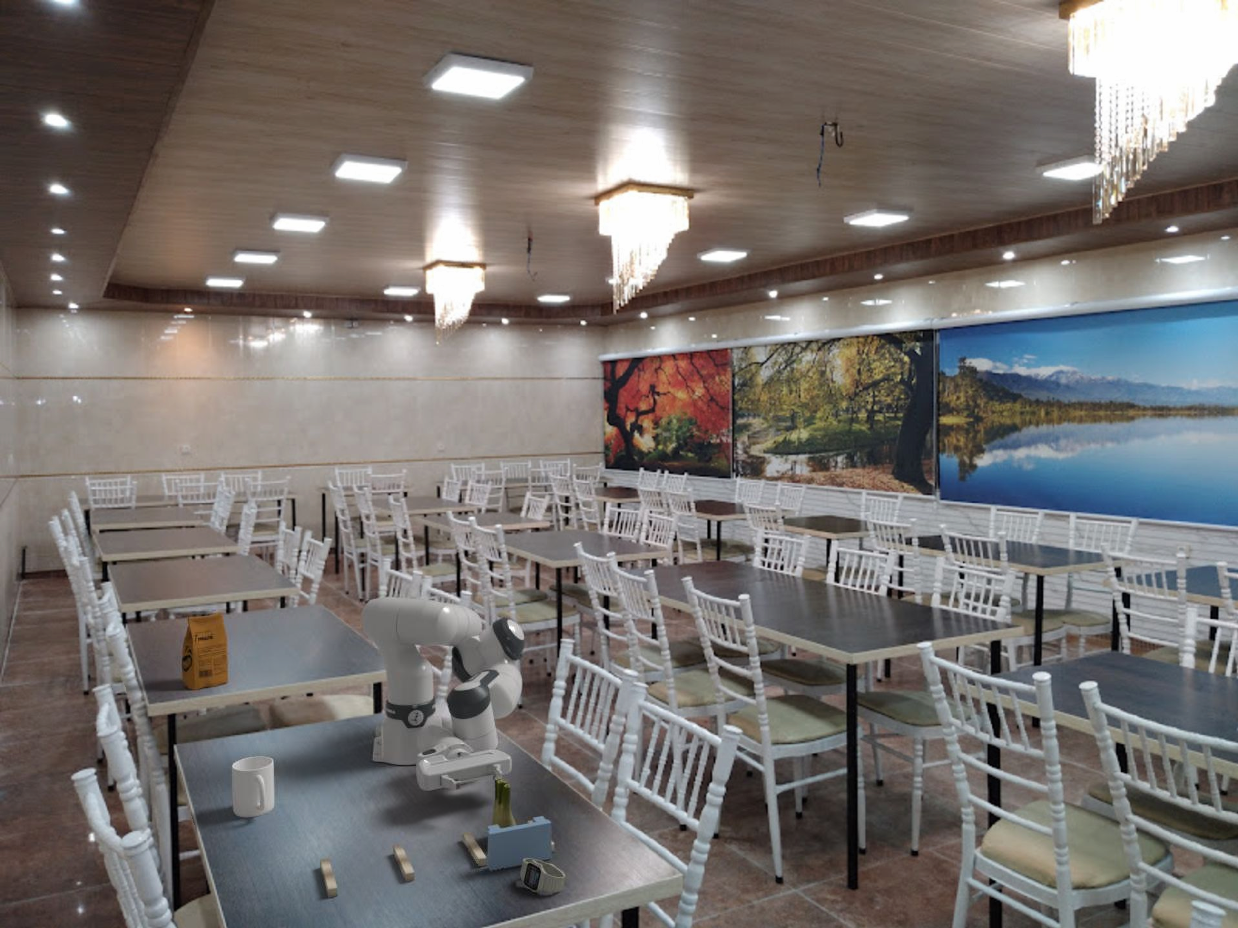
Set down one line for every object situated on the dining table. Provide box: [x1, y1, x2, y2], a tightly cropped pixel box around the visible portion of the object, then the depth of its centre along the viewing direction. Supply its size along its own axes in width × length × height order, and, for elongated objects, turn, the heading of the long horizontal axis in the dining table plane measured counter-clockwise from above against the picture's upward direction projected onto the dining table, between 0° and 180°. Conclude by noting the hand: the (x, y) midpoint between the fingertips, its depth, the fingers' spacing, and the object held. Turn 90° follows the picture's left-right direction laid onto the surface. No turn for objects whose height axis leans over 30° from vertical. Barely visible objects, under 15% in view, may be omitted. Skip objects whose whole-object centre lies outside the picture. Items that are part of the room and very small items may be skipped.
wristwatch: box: [519, 858, 566, 893], centre depth 171 cm, size 9×6×5 cm
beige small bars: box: [319, 819, 555, 898], centre depth 180 cm, size 12×42×2 cm, turn 114°
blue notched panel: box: [486, 815, 553, 872], centre depth 180 cm, size 4×12×7 cm, turn 114°
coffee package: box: [181, 611, 229, 691], centre depth 296 cm, size 10×12×22 cm
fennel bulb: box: [491, 778, 517, 828], centre depth 188 cm, size 6×5×12 cm
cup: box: [231, 755, 275, 818], centre depth 202 cm, size 8×12×10 cm
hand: (478, 781), depth 199 cm, fingers open, 8 cm apart
